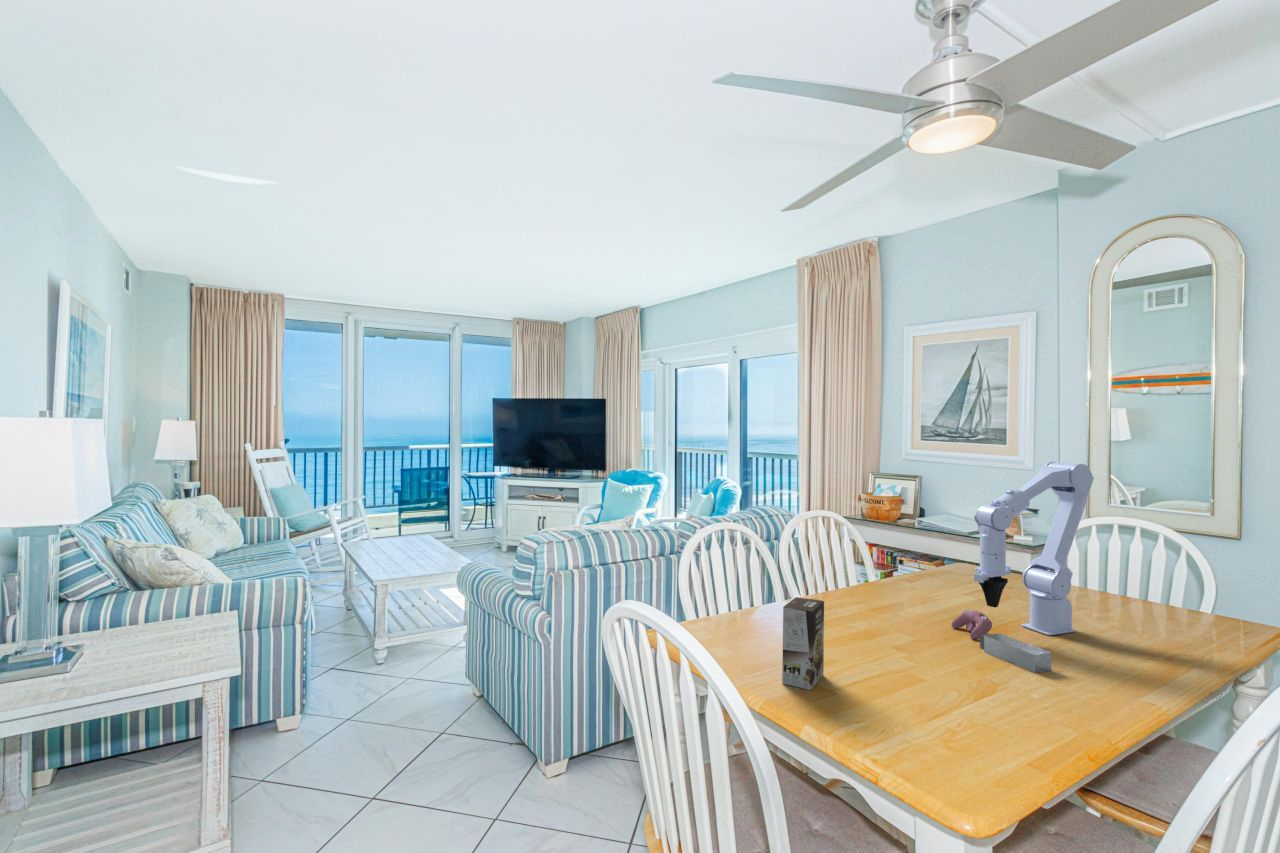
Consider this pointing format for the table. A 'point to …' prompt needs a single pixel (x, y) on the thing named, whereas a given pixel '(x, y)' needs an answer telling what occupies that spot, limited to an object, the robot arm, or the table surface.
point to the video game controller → (973, 623)
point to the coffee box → (803, 643)
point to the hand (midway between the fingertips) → (992, 606)
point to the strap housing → (1017, 652)
